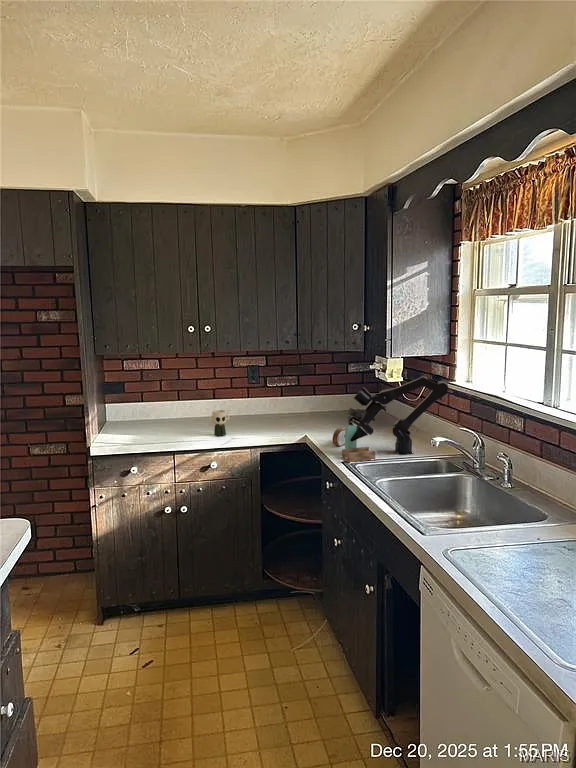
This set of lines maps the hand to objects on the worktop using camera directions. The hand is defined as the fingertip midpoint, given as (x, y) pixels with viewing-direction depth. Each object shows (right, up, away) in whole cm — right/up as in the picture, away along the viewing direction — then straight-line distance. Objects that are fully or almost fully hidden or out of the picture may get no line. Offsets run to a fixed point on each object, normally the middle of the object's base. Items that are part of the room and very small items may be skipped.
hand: (347, 439), depth 257 cm
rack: (+4, -8, -7) cm, 12 cm away
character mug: (-63, -3, +45) cm, 77 cm away
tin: (0, -5, +19) cm, 19 cm away
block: (+2, -7, +1) cm, 7 cm away
